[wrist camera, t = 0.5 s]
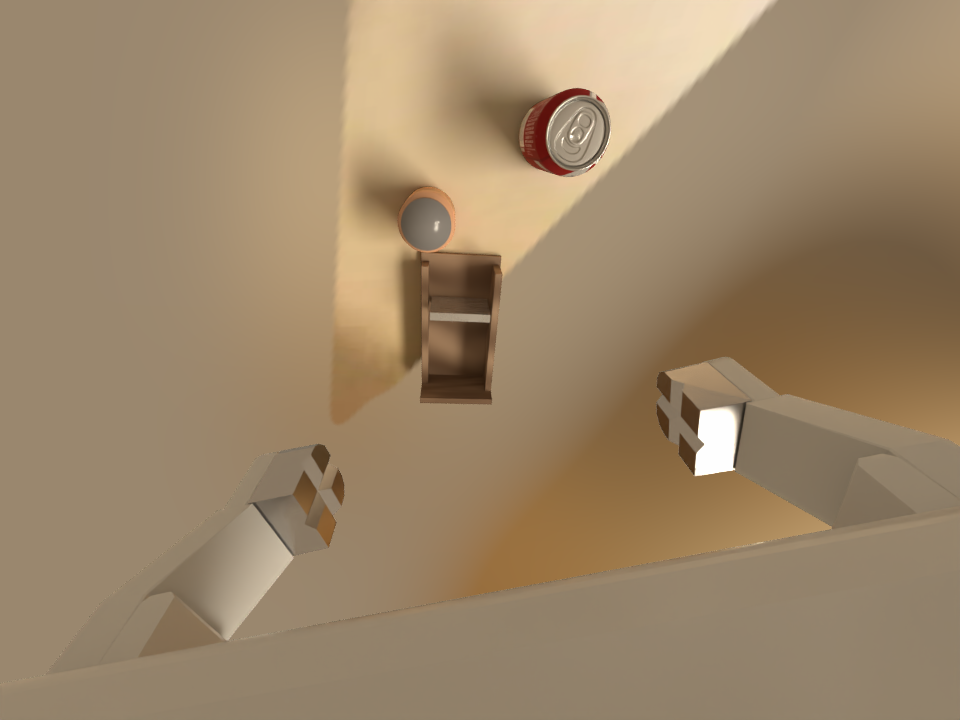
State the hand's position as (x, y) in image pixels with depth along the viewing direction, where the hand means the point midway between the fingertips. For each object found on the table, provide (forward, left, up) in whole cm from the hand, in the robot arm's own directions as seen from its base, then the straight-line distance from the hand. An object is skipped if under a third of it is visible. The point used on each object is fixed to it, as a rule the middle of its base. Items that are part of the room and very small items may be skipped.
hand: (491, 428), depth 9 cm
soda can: (-7, +9, -42) cm, 43 cm away
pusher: (+13, 0, -41) cm, 43 cm away
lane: (+16, 0, -42) cm, 45 cm away
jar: (+2, -4, -42) cm, 42 cm away
